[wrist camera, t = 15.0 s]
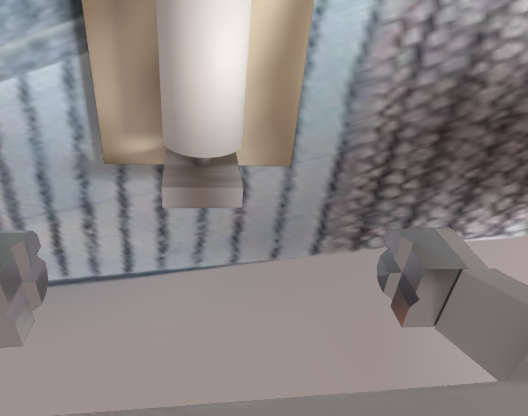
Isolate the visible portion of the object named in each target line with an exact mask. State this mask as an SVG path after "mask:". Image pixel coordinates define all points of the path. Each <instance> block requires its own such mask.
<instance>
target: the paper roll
mask: <svg viewBox="0 0 528 416" xmlns="http://www.w3.org/2000/svg"><path fill="white" fill-rule="evenodd" d="M156 13H157V32H158V52H159V72H160V91H161V111H162V131H163V143H164V145H165V146H166V147H167V148H168V149H169V150H171V151H173V152H175V153H178V154H181V155H185V156H190V157H197V158H214V157H221V156H226V155H229V154H232V153H234V152H236V151H237V150H239V149H240V147H241V146H242V138H243V122H244V107H245V92H246V76H247V61H248V46H249V30H250V15H251V0H156Z"/></svg>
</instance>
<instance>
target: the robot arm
mask: <svg viewBox="0 0 528 416" xmlns="http://www.w3.org/2000/svg"><path fill="white" fill-rule="evenodd" d="M384 243H385V244H386V246H387V248H388V249H387V250H386V251H385V252H384V253H383V254H382V255H381V256H380V258H379V261H378V265H377V278H378V282H379V285H380V287H381V289H382V291H383V293H384V294H386V295H388V296H389V297H390V298H392V299H393V300H392V303H391V308H392V310H393V312H394V314H395V316H396V317H397V319H398V321H399V323H400V325H401V327H435V329H436V330H437V331H439V332H440V333H441V334H442V335H444V336H445V337H446V338H447V339H448V340H450V341H451V342H452V343H453V344H454V345H456V346H457V347H458V348H459V349H460V350H462V351H463V352H464V353H465V354H466V355H468V356H469V357H470V358H471V359H473V360H474V361H475V362H476V363H477V364H479V365H480V366H481V367H482V368H483V369H485V370H486V371H487V372H488V373H489V374H491V375H492V376H493V377H494V378H495V379H497V380H498V381H499V382H486V383H473V384H460V385H447V386H434V387H421V388H408V389H395V390H381V391H369V392H357V393H356V392H355V393H342V394H329V395H316V396H303V397H290V398H277V399H265V400H253V401H252V400H251V401H238V402H226V403H212V404H199V405H186V406H174V407H160V408H147V409H134V410H121V411H107V412H94V413H82V414H68V415H55V416H528V285H526V284H524V283H522V282H520V281H518V280H516V279H514V278H512V277H510V276H508V275H506V274H504V273H502V272H500V271H499V270H497V269H489V268H488V267H487V266H486V265H485V264H484V263H483V262H482V261H481V259H480V258H479V257H478V256H477V255H476V254H475V253H474V252H473V251H472V250H471V249H470V247H469V246H467V244H466V243H465V242H464V241H463V240H462V239H461V237H460V236H459V235H458V234H457V233H456V232H455V231H454V230H453V229H451V228H449V227H437V228H422V229H391V230H390V231H389V232H388V234H387V236H386V239H385V242H384ZM40 247H41V245H40V242H39V239H38V236H37V234H36V233H35V232H33V231H11V230H0V348H3V347H16V346H23V345H24V342H25V341H26V338H27V336H28V334H29V332H30V329H31V327H32V325H33V323H34V317H33V314H32V311H33V310H35V309H36V308H37V307H39V306H40V305H41V304H42V302H43V300H44V297H45V295H46V290H47V284H48V274H47V268H46V264H45V262H44V261H43V260H42V259H40V258H39V257H38V256H37V253H38V251H39V249H40Z"/></svg>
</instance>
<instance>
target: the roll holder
mask: <svg viewBox="0 0 528 416" xmlns="http://www.w3.org/2000/svg"><path fill="white" fill-rule="evenodd" d="M313 5H314V0H251V15H250V30H249V46H248V61H247V76H246V92H245V107H244V122H243V138H242V146H241V147H240V149H239V150H237V151H236V152H234V153H232V154H229V155H226V156H221V157H214V158H197V157H190V156H185V155H181V154H178V153H175V152H173V151H171V150H169V149H168V148H167V147H166V146H165V145H164V143H163V131H162V111H161V91H160V72H159V52H158V32H157V13H156V0H82V7H83V14H84V21H85V28H86V35H87V42H88V50H89V57H90V64H91V71H92V78H93V85H94V92H95V100H96V107H97V114H98V121H99V128H100V135H101V142H102V150H103V157H104V164H164V171H163V179H162V187H161V189H162V207H163V208H242V199H243V184H242V179H241V174H240V169H239V165H243V166H291V160H292V153H293V146H294V139H295V131H296V124H297V117H298V110H299V103H300V96H301V89H302V82H303V75H304V68H305V61H306V54H307V47H308V40H309V33H310V26H311V19H312V12H313Z"/></svg>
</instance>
